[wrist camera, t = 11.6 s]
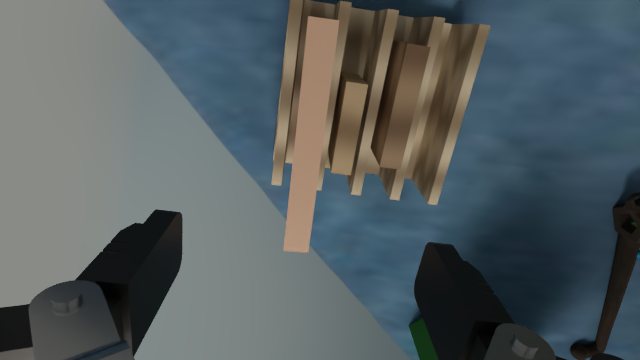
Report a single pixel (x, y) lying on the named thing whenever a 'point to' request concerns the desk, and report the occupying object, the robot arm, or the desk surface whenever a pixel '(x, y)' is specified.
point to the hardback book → (422, 341)
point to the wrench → (616, 274)
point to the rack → (371, 65)
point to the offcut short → (346, 122)
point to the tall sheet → (310, 130)
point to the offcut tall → (398, 102)
